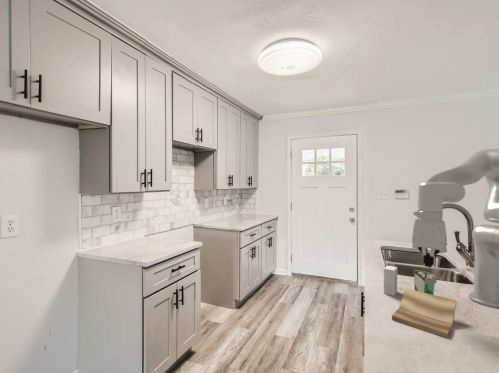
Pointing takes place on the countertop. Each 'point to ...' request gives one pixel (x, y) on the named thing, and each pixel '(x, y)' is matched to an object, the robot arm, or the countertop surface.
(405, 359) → the countertop surface
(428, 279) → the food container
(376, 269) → the countertop surface
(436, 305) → the oak plank
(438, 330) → the floor board
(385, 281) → the skincare box
